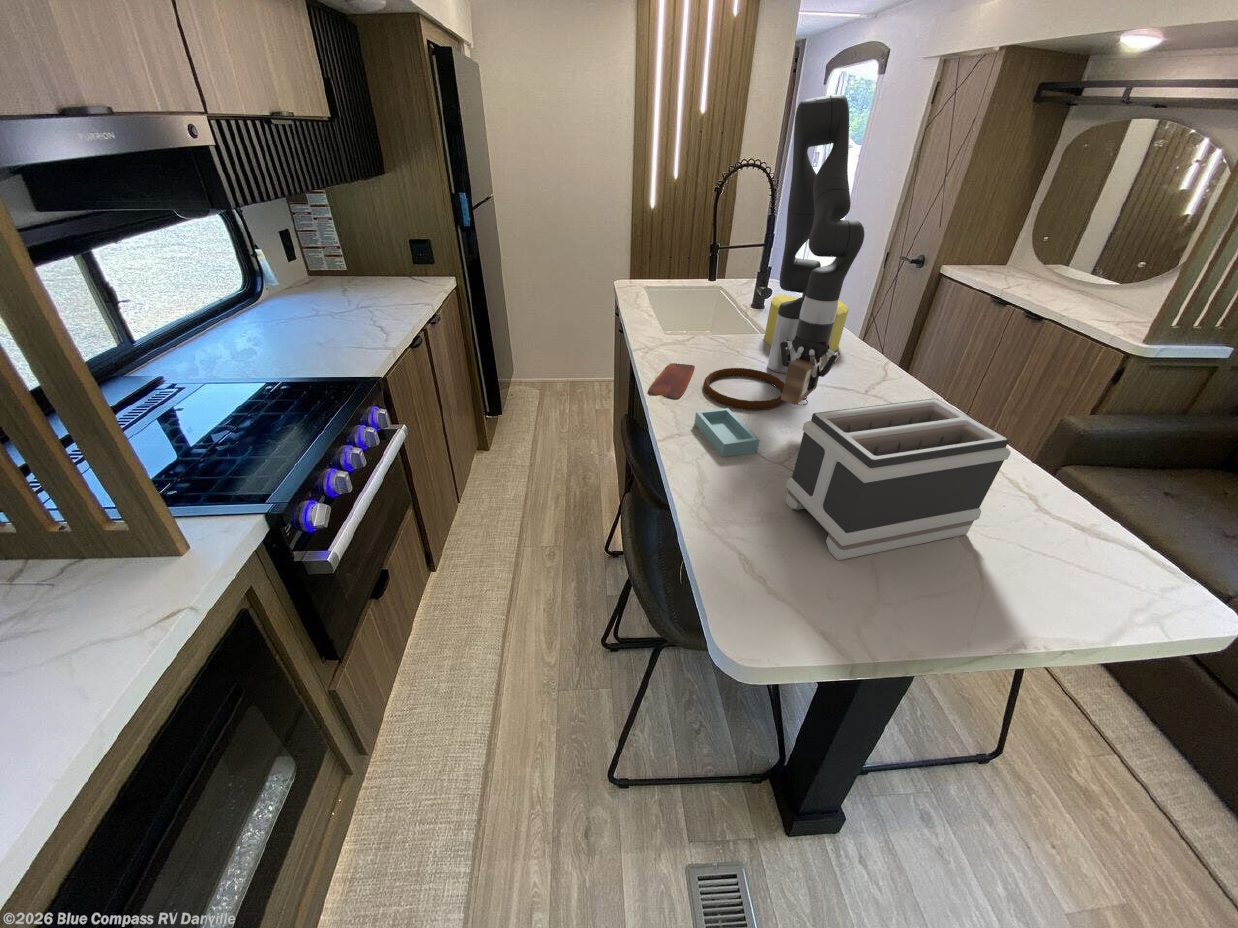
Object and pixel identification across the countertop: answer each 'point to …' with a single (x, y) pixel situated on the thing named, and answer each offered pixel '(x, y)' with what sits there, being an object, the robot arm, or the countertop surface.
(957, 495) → the toaster
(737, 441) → the light blue rectangular tray
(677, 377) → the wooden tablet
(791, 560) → the countertop surface
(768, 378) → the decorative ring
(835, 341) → the cheese
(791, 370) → the picture frame
